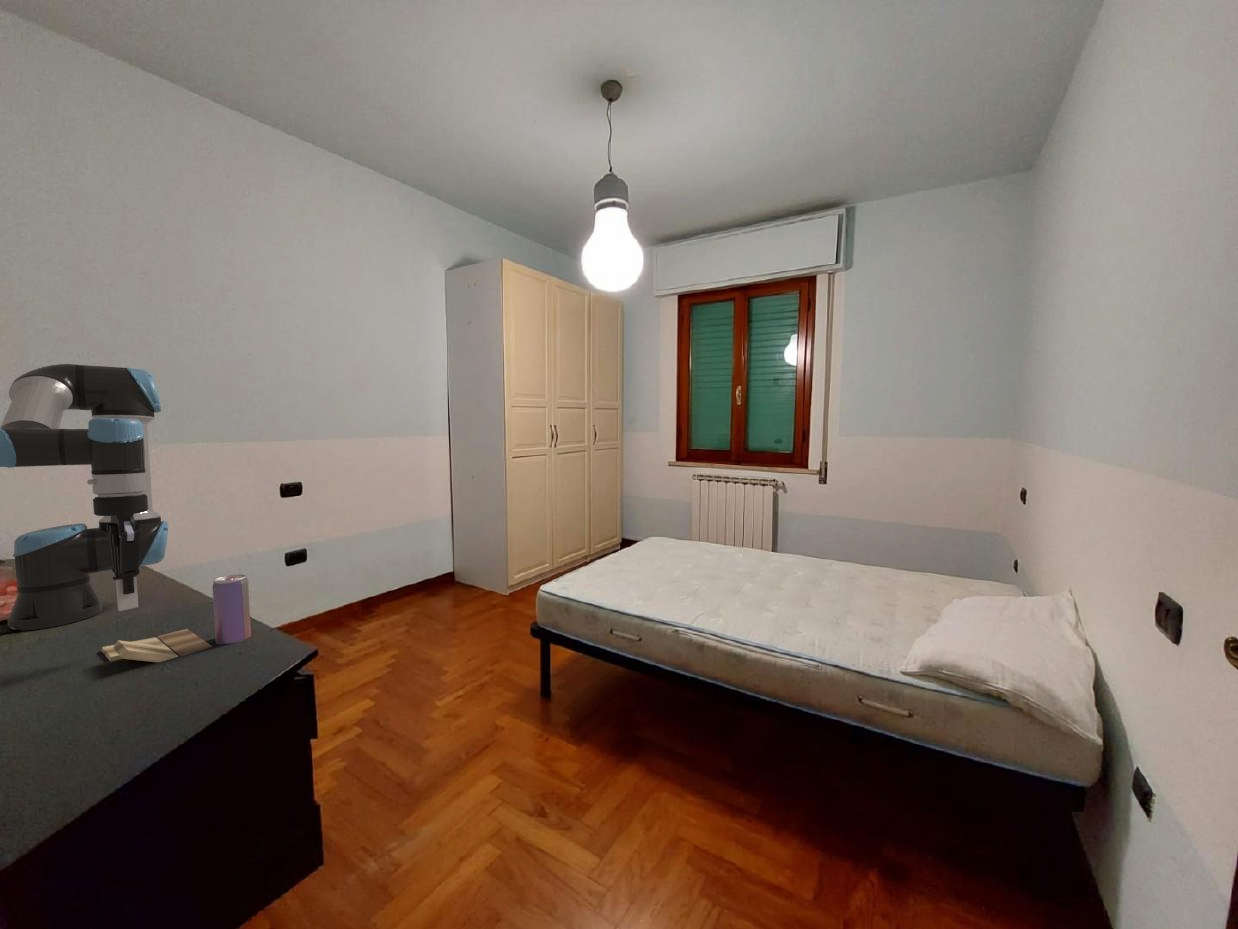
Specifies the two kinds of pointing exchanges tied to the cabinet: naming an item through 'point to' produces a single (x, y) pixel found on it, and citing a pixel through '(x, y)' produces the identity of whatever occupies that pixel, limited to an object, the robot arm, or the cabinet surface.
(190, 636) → the laid board
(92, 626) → the cabinet surface
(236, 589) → the beverage can
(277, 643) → the cabinet surface
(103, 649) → the oak plank
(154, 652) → the oak plank
